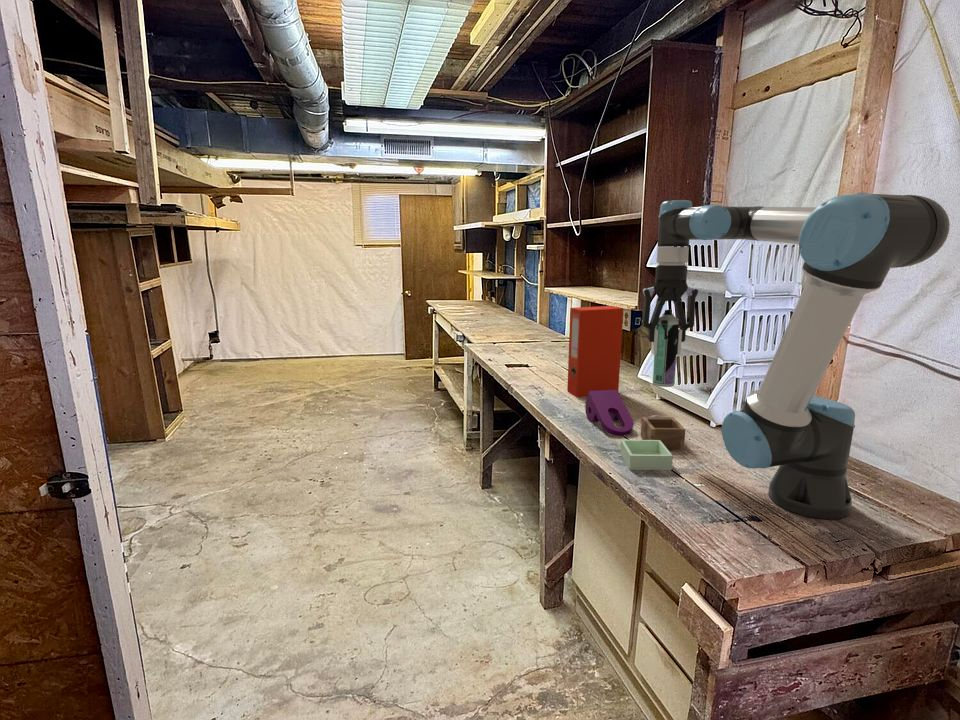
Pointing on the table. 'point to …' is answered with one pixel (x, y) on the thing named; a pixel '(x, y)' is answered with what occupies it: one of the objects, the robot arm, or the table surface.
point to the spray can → (666, 350)
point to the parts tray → (646, 455)
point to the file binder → (594, 349)
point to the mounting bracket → (608, 411)
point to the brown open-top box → (663, 431)
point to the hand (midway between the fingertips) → (665, 353)
